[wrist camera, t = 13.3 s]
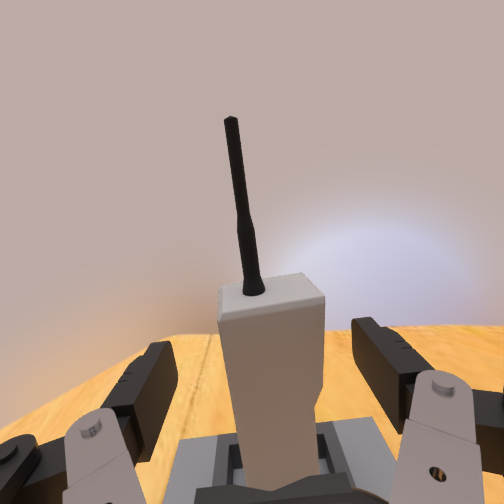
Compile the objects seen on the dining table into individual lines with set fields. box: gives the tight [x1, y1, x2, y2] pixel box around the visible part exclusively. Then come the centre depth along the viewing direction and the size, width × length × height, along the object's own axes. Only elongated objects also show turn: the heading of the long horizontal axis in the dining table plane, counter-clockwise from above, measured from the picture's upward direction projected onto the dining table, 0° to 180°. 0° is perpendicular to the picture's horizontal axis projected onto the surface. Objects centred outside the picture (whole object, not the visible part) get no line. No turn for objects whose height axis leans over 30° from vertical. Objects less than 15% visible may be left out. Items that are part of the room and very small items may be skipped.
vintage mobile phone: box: [217, 116, 325, 491], centre depth 15 cm, size 4×5×25 cm
